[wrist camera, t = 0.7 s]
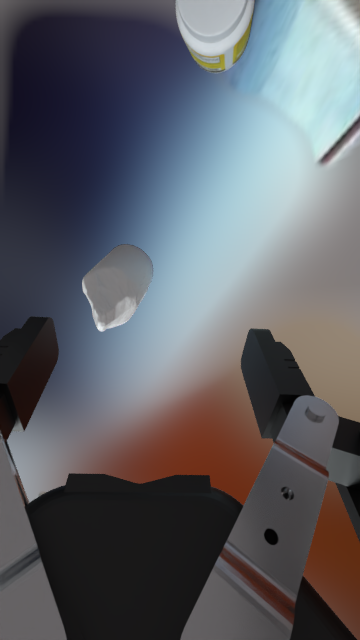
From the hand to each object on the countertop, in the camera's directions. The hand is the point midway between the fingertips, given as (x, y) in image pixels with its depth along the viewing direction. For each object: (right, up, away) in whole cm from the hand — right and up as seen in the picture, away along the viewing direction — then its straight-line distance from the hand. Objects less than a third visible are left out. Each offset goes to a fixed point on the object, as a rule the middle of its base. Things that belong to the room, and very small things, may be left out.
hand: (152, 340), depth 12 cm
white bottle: (-4, +7, +22) cm, 23 cm away
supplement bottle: (+4, +23, +10) cm, 26 cm away
